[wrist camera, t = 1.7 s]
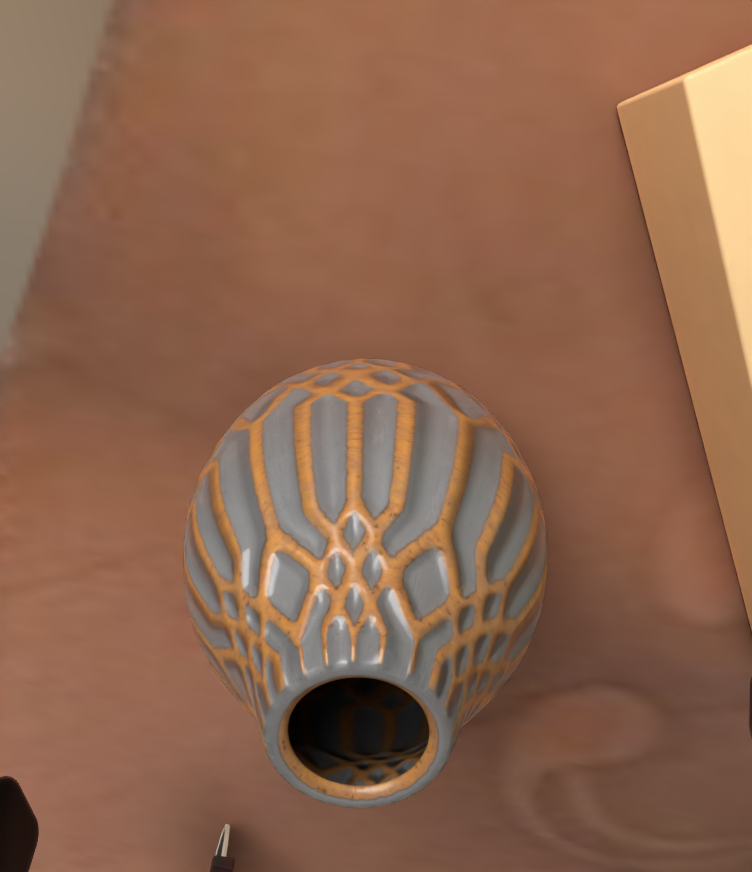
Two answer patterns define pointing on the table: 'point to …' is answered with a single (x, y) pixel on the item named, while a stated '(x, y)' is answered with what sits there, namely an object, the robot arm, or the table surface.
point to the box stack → (706, 260)
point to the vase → (364, 572)
